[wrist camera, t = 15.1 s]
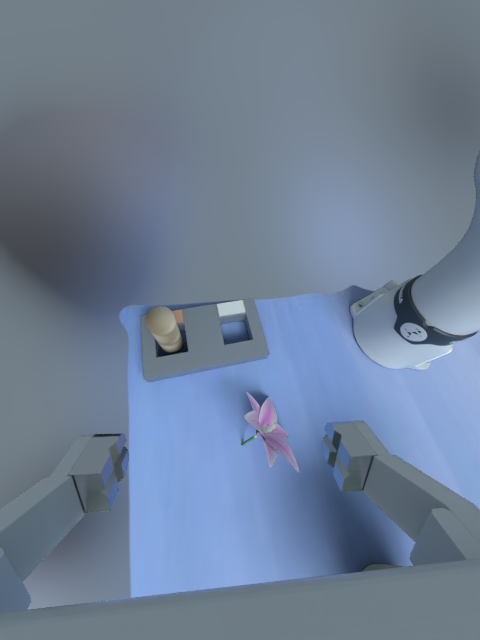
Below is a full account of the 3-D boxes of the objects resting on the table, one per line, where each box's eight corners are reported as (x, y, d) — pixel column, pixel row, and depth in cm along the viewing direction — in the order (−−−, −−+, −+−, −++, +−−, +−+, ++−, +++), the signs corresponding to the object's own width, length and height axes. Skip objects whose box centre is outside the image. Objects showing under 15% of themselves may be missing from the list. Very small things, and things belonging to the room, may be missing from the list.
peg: (176, 332, 45) (163, 301, 34) (188, 347, 44) (179, 320, 33) (158, 344, 43) (139, 316, 32) (170, 360, 42) (155, 336, 31)
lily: (286, 481, 37) (327, 464, 31) (220, 489, 32) (253, 471, 26) (268, 408, 45) (298, 384, 39) (213, 405, 40) (237, 377, 34)
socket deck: (251, 305, 49) (253, 297, 46) (266, 358, 44) (270, 353, 41) (144, 322, 45) (139, 314, 42) (148, 382, 40) (142, 378, 37)
